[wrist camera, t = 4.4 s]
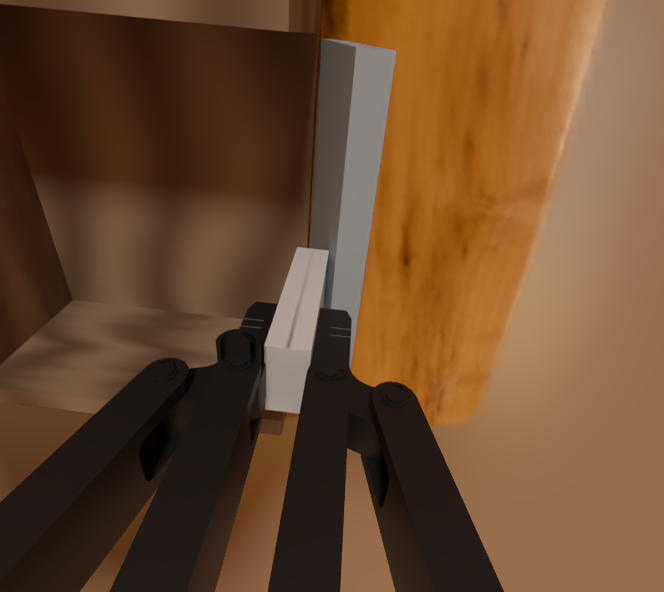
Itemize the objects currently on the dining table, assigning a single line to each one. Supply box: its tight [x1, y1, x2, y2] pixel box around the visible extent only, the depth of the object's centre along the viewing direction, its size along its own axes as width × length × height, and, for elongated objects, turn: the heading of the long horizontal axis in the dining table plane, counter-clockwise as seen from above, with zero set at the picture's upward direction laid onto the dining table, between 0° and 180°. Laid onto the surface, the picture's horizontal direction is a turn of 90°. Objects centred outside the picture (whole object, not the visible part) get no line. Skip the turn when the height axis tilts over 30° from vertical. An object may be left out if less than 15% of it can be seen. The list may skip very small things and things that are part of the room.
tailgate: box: [310, 39, 397, 369], centre depth 20 cm, size 1×17×9 cm, turn 175°
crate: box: [0, 0, 322, 435], centre depth 21 cm, size 18×20×10 cm
